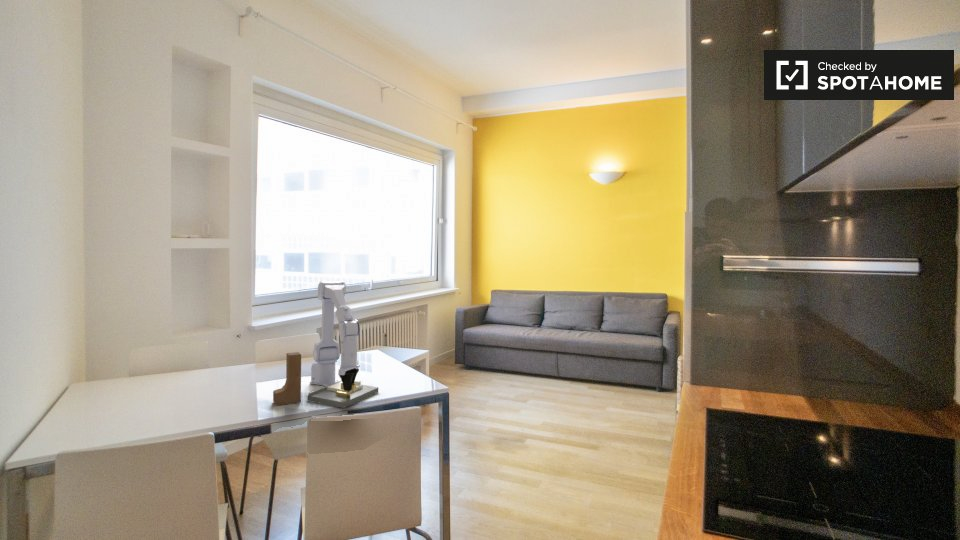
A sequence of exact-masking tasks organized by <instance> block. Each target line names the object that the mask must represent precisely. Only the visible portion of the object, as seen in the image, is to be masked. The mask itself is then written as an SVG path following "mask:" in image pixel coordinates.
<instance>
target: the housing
mask: <svg viewBox="0 0 960 540" xmlns="http://www.w3.org/2000/svg"><path fill="white" fill-rule="evenodd" d="M341 381H342V380H339V381H338V382H336V383H339V382H341ZM336 383H333V384H330V385H328V386H331V385H334V384H336ZM362 385H363V388H361V389H359V390H356V391H354V392H351V393H350V398H347V397H345V396H340V395H335V394H336V392H335V391H330V390H327V387H328V386H323V387H320V388H318V389H315V390H313V391H310V392H308V393H307V395H306V397H307V398H306V399H307V400H308V402H312V403H318V404H322V405H327V406H332V407H336V408H337V407H338V408H343V409H345V408H347V407H349V406H352V405H353V404H356V403H358V402H360V401H363V400H365V399H367V398H369V397H372V396H374V395H375V393H376V394H377V392H378V393H379V387H377V386H372V385H367V384H362ZM373 394H374V395H373ZM307 400H306V401H307Z"/></svg>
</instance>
